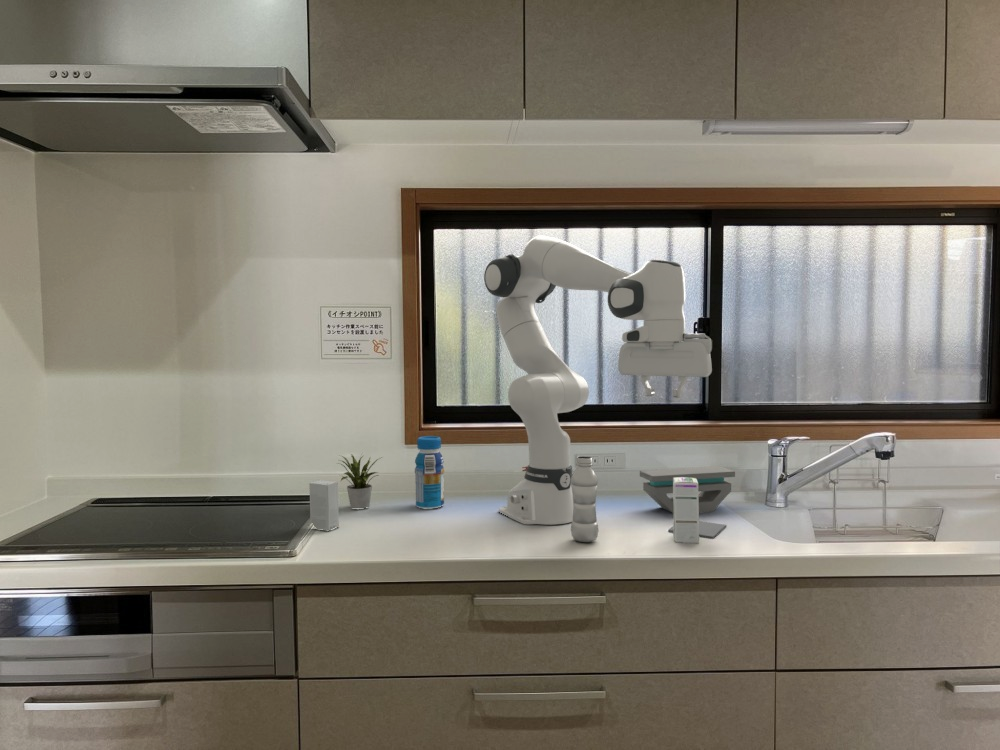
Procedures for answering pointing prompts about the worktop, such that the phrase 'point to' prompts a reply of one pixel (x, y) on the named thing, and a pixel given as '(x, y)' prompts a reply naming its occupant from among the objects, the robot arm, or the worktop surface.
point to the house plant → (358, 483)
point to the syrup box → (685, 510)
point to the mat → (707, 529)
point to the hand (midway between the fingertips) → (663, 396)
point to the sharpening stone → (706, 477)
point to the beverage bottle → (429, 473)
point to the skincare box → (324, 504)
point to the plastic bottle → (584, 501)
